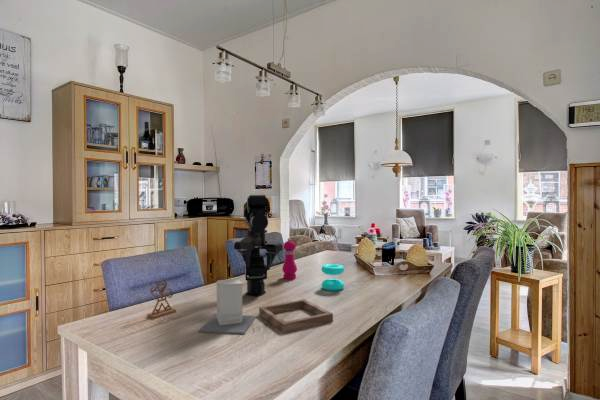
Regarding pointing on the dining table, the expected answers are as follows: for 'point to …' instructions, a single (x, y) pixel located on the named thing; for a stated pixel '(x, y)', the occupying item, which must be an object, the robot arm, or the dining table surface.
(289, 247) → the pepper mill
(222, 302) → the supplement box
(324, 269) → the donuts
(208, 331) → the slate mat
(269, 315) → the walnut pocket
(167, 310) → the brown openwork stand
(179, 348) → the dining table surface
